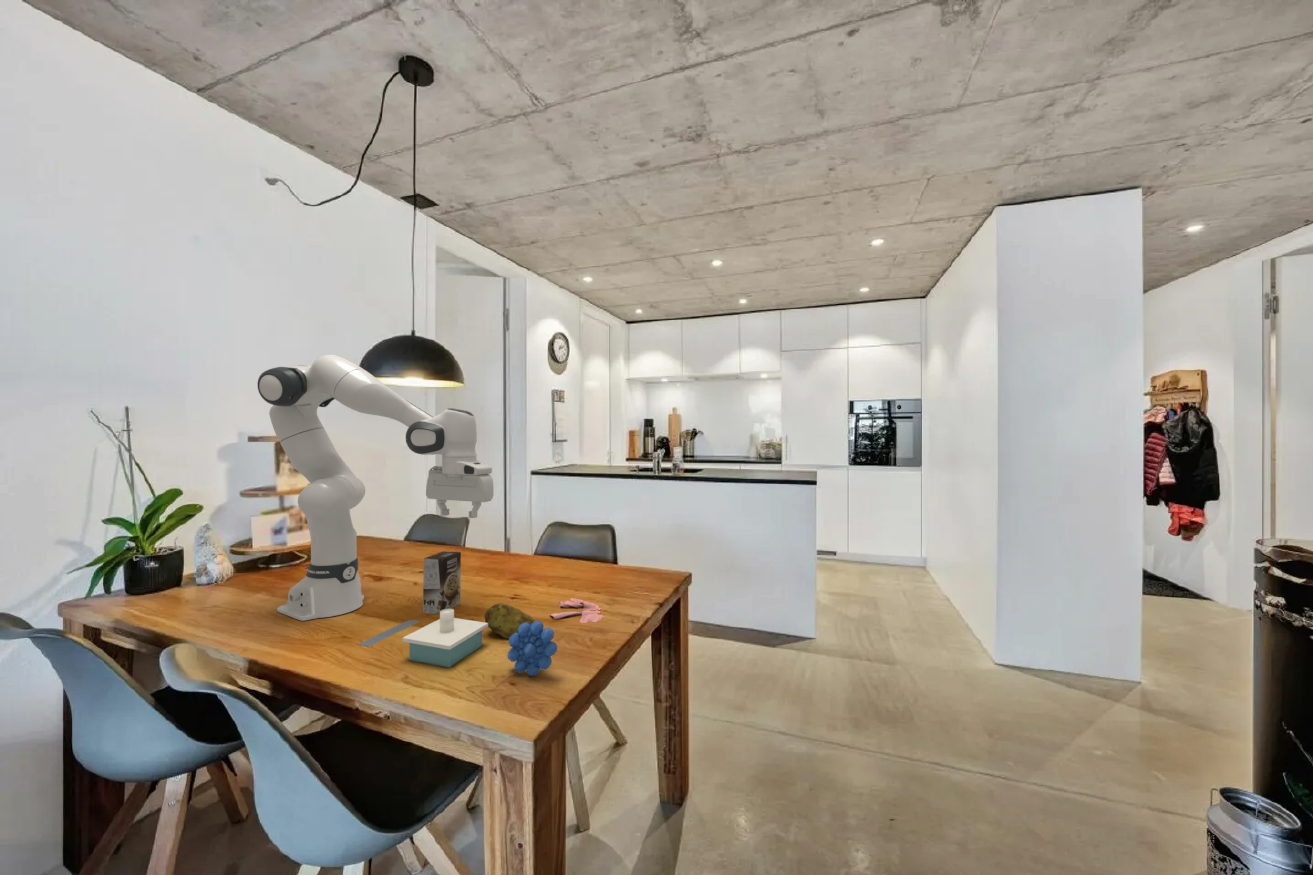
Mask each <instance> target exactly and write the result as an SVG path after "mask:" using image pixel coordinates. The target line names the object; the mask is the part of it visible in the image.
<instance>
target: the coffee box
mask: <svg viewBox="0 0 1313 875" xmlns="http://www.w3.org/2000/svg"><path fill="white" fill-rule="evenodd" d="M461 554H462V553H461V551H440V552H437V553H435V554H432V555H430V556H427V557H424V558H423V585H422V590H423V594H422V595H423V596H422V597H423V598H422V613H425V614H433V615H436V614H440V611H442V610H444V609H454V608H455V607H457V606H460V605H461V589H462V588H461V587H462V586H461V581H462V580H461V576H462V575H461V570H462V569H461V568H462V565H461V564H462V562H461V561H462V560H461V558H462V556H461Z"/></svg>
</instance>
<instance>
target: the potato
mask: <svg viewBox="0 0 1313 875" xmlns="http://www.w3.org/2000/svg"><path fill="white" fill-rule="evenodd" d="M534 621H536V619H535V618H534V617H532V616H530V615H529V614H528V613H525V612H523V611H522V610H521V609H519V608H517V607H514V606H513V605H510V604H508V603H497V604H496V603H495V604H494V605H492V606H490V607H489V608H488V609H487V610H486V611H485V614H484V622H485V623H488V627H487V628H489V629H490V630H491V631H492V632H493V633H495V634H498V635H499V636H500V637H502V638H503V639H506V640H509V638H510V637H511V635H512V634H514V633H518V631H517V630H518V627H519V626H520V625H521V624H522V623H528V624H530V626H531V624H532V623H533V622H534Z"/></svg>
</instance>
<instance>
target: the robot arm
mask: <svg viewBox="0 0 1313 875" xmlns="http://www.w3.org/2000/svg"><path fill="white" fill-rule="evenodd" d="M257 391H258V394H259V395H260V397H261V398H262V399H263V400H264V401H265V402H266V403H268V404H270V405H272V406H271V407H270V409H269V413H268V414H269V418H270V422H271V425H272V428H273V430H274V433H275V435H276V438H277V440H278V442H279V444H280V445H281V448H282V449H283V451H284V453H285V454H286V456H287V458H288V460H289V462H290V464H291V466H292V467H293V469H294V470H296V471H297V472H299V473H300V474H301V475H302V476H303V477H304V478H305V479H306V480H307V481H308V483H309V484H307V485H306V486H305V487H303V489H302V490H301V491H300V492H299V494H298V497H297V505H298V508H299V510H300V511H301V512H302V513H303V514H304V516H305V520H306V523H307V526H308V530H309V531H308V532H309V535H310V563H308V564H305V565H303V566H305V567H304V568H303V569H304V570H306V569H307V570H306V573H305V576H304V577H303V578H302V579H301V580H300V581H299V582H297V583H296V584H295V585H293V586H291V588H290V589H289V591H288V594H287V602H286V603H284V604H281V605H280V606H278V607H277V609H276V611H277V612H278V613H279V614H282V615H285V616H288V617H290V618H293V619H295V620H299V621H301V622H302V621H304V622H305V621H309V620H313V619H320V618H330V617H335V616H340V615H344V614H347V613H350V612H353V611H355V610H358V609H359V608H361V607H362V606H363V604H364V602H363V601H364V599H365V595H364V594H362V585H361V576H360V574H359V572H358V571H359V564H360V562H359V558H358V557H357V554H358V553H357V552H358V551H357V548H358V547H357V530H356V529H355V527H354V525H353V522H352V518H351V510H352V509H353V508H355V507H356V506H358V505H359V504H360V503H361V502H362V501H363V499H364V497H365V494H366V486H365V485H364V483H363V481H362V480H361V479H360V478H358V477H357V476H356V474H354V472H353V471H352V470H351V468H350V467H349V466H348V464H346V462H345V461H344V460H343V458H342V456H340V454H339V453H338V452H337V450H336V448H335V446H334V445H333V442H332V440H331V439H330V437H329V434H328V433H327V431H326V429H325V427H324V426H323V424H322V422H321V420H320V419H319V416H318V408H326V407H328V406H329V405H330V404H331V402H333V401H334V400H336V401H337V402H339V403H340V404H342V405H343V406H345V407H346V408H349V409H351V410H353V411H356V412H358V413H361V414H366V415H370V416H371V415H373V416H378V417H384V418H388V419H392V420H395V421H397V422H399V423H401V424H403V425H404V426H406V427H408V428H407V430H406V433H405V443H406V445H407V447H408V449H409V450H410V451H411V452H413V453H414V454H418V455H424V456H428V455H429V456H430V455H441V466H438V465H437V466H436V465H433V466H432V467H431V468H429V470H428V476H427V480H426V486H425V496H426V497H427V499H428V500H436V504H437V505H438V508H439V509H440V516H445V517H446V516H447V517H448V516H449V515H450V508H447V505H446V503H447V502H448V501H459V502H471V506H473V507H472V509H471V510H469V511H468V518H469V519H470V518H471V519H475V518H478V512H479V509H480V508H481V507H482V503H488V502H491V501H492V500H493V499H494V491H495V490H494V480H493V477H492V475H491V474H492V473H493V466H491V465H490V464H487V463H484V462H482V461H480V460H477V452H476V444H477V437H478V436H477V423H476V417H475V415H474V414H473V413H472V412H471V411H468V410H464V409H459V408H451V407H450V408H449V407H448V408H446V409H444V410H443V411H442V412H441V413H439V414H437V415H435V416H433V415H431V414H429V413H428V412H426V411H424V410H423V409H421V408H419V407H418V406H416V405H415V404H413V403H412V402H409V401H408V400H407V399H405V398H403V397H402V396H401V395H399V394H398V393H397V392H395V391H394V390H393V389H391V388H389V387H388V386H387V385H386V384H385V383H383V382H382V381H381V380H380V379H378V378H377V377H376V376H374V375H373V374H371V373H370V372H369V371H367V370H366V369H364V368H362V367H361V366H359V365H358V364H356V363H354V362H352V361H350V360H348V359H346V358H344V357H342V356H339V355H337V354H324V355H321V356H319V357H318V358H317V359H316V360H314V362H313V363H312V364H311V365H310V364H309V365H308V364H299V365H293V366H292V365H291V366H277V367H272V368H270V369H267V370H264V371H263V372H262V373H261V374H260V375H259V377H258V379H257Z"/></svg>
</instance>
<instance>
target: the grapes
mask: <svg viewBox="0 0 1313 875" xmlns="http://www.w3.org/2000/svg"><path fill="white" fill-rule="evenodd" d="M535 620H536V619H535ZM544 627H545V626H544V622H543V621H541V620H536V621H534V622H533V623H532V624H531V626H530V624H528V623H522V624H521V625H520V626H519V627H518V630H517V631H518V633H514V634H512V635H511V637H510V638H509V639H508V644H509V647H510V649H509V650H508V652H507V660H509V661H510V662H515V663H514V670H515V672H517V673H518V674H522V673H524V672H526V674H527V675H528V676H530V677H534V676H536V675H538V674H539V672H540V669H541V670H543V671H544V670H547V669H549V668H550V667H551V665H552V663H553V662H552V657H553V656H554V655H555V654H556V653H557V651H558V645H557V643H556V642H555V641H552V640H553V639H554V636H555V633H554V630H553V629H552V628H551V627H546V628H544Z"/></svg>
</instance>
